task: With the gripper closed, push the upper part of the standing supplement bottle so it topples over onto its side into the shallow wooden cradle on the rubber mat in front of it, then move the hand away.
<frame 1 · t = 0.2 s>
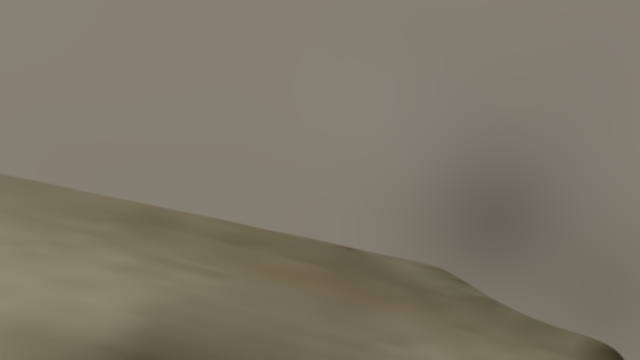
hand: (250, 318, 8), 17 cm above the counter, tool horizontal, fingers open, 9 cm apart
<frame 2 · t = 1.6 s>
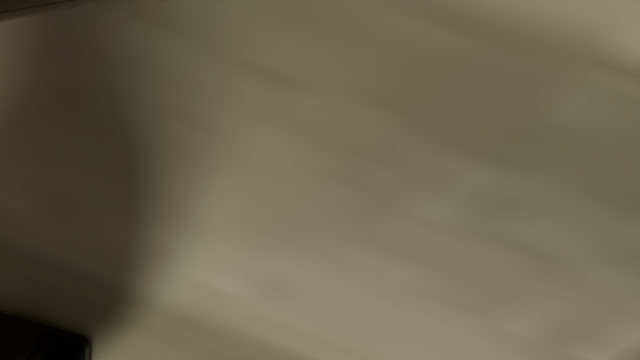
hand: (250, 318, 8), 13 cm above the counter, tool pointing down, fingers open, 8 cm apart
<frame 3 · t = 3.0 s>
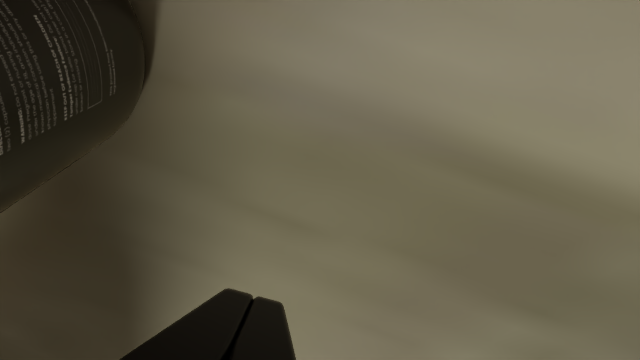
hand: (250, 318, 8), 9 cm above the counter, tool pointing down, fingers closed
supplement bottle: (49, 41, 16), on the counter
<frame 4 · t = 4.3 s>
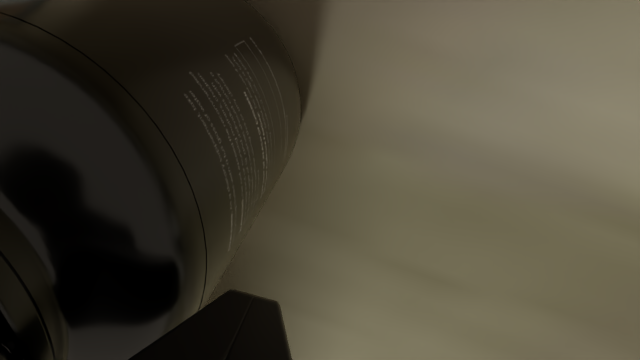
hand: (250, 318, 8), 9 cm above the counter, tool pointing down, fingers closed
supplement bottle: (192, 96, 16), on the counter, touching gripper
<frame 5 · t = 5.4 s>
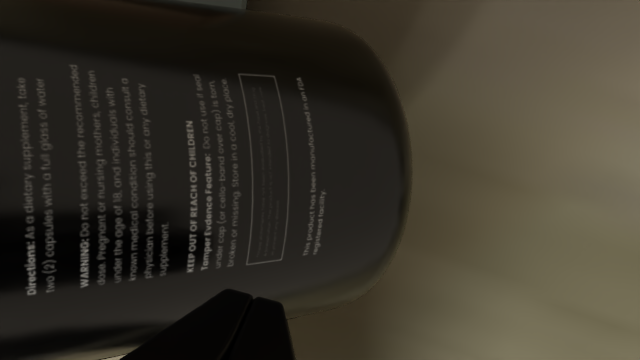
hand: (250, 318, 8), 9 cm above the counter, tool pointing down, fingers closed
supplement bottle: (335, 166, 13), point 3 cm above the counter
rubber mat: (20, 57, 16), on the counter
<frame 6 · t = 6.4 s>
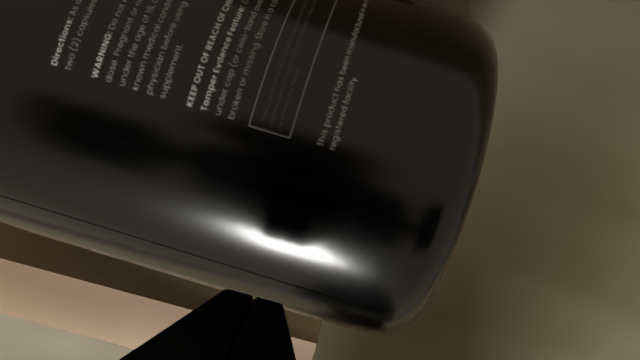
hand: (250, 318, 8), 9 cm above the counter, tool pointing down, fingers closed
cradle rails: (123, 102, 14), on the rubber mat, point 1 cm above the counter
supplement bottle: (445, 189, 11), point 4 cm above the counter, touching rubber mat
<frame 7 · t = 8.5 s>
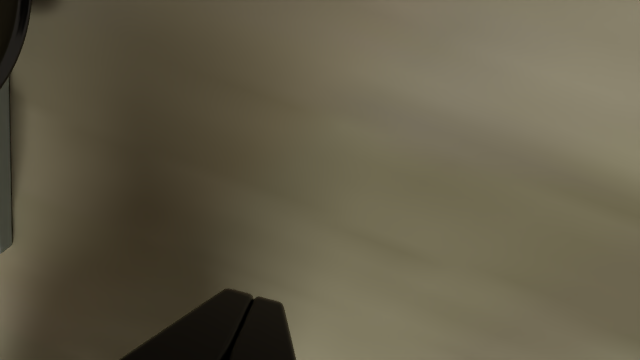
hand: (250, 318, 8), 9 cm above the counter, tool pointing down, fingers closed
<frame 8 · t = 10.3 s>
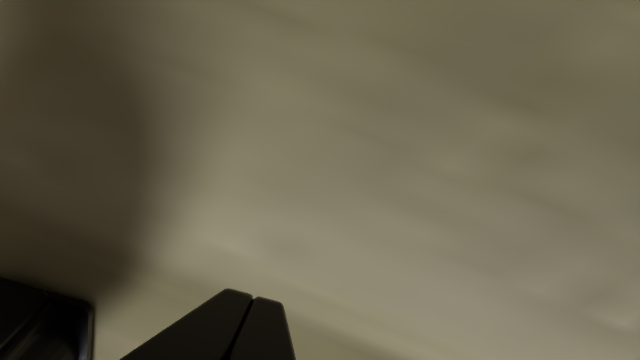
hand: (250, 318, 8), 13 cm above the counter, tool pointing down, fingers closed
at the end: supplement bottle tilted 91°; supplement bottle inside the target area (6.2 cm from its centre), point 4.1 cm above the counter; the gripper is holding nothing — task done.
